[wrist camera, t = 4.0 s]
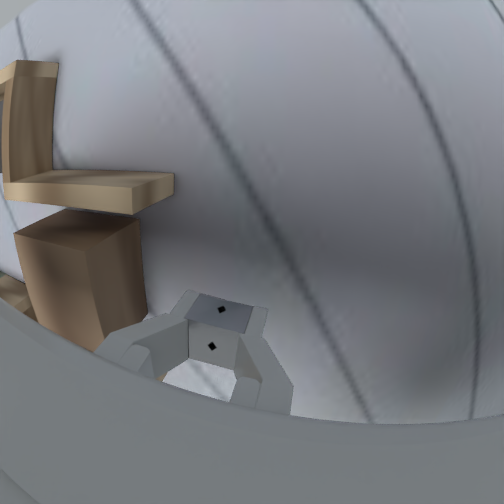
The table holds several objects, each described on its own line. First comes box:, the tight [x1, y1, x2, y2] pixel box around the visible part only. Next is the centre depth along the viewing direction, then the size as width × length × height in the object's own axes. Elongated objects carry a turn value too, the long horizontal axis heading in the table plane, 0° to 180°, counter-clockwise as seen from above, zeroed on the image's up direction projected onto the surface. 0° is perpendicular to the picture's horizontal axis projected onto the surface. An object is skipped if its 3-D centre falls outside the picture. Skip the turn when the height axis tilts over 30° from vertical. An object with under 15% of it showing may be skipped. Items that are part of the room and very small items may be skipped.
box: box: [0, 60, 174, 382], centre depth 15 cm, size 27×25×4 cm
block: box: [13, 209, 148, 352], centre depth 13 cm, size 6×6×4 cm
